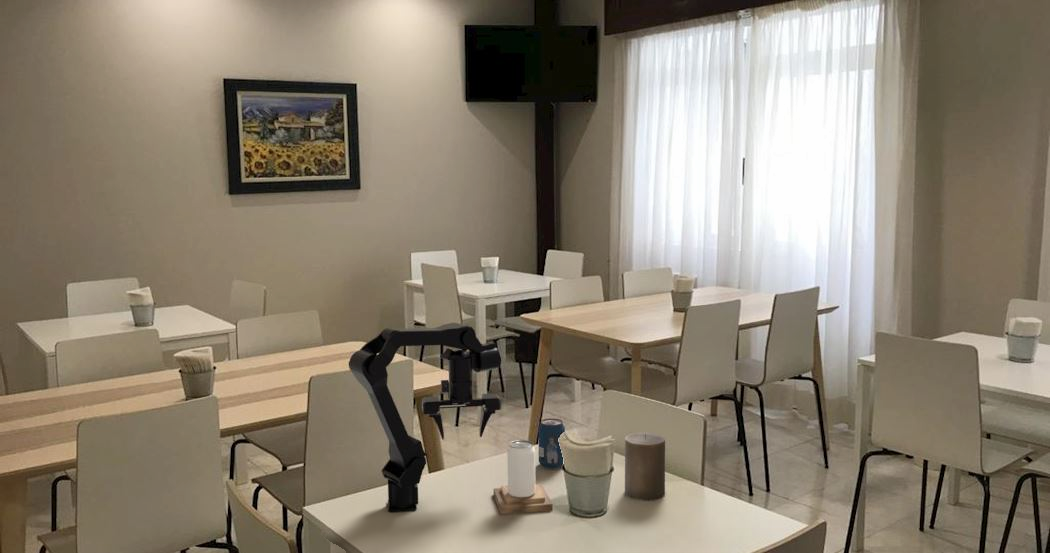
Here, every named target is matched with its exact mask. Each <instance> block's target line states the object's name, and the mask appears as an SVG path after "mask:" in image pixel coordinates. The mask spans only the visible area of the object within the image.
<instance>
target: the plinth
mask: <svg viewBox="0 0 1050 553" xmlns="http://www.w3.org/2000/svg"><path fill="white" fill-rule="evenodd" d="M493 497H494V500H495V502H496V504H497V507H499V508H498V510H499V513H500V515H509V514H521V513H524V514H525V513H533V512H534V513H537V512H545V511H546V512H547V511H548V512H549V511H554V510H553V507H554V506H553V502H552V500H551V499H550V497H549V495H548V493H547V491H546V489H545V488H544V486H543V484H538V483H535V493H534V494H533V495H532V496H530V497H527V498H516V497H512V496H511V495H510V494H509V493H508V485H503V486H500V487H497V488H493Z"/></svg>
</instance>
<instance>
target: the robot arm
mask: <svg viewBox="0 0 1050 553" xmlns="http://www.w3.org/2000/svg"><path fill="white" fill-rule="evenodd" d="M496 344H497V343H495V342H493V341H487V342H485V343H481V342H480V340H479V338H478V337H477V335H476V330H475V329H474V327H473V326H471V325H470V326H469V325H466V324H462V323H459V322H450V323H445V324H442V325H440V326H437V327H432V328H431V327H428V328H427V327H421V328H419V327H418V328H414V327H413V328H411V327H410V328H392V327H387V328H385V329H383V330H381V332H380V333H379V334H378V335H377V336H375V337H374V338H372V339H371V340H369V341H368V342H366V343H365V344H364V345H363V346H362V347H361V348H360V349H359V350H357V351H355V352H354V353H353V354H352V355H351V356H350V359H349V361H348V368H349V370H350V372H351V373H352V375H353V377H355V379H356V380H357V381H358V383H360V385H361V386H362V388H363V389H364V390H365V391H366V392H367V394H368V396H369V398H370V401H371V403H372V406H373V408H374V410H375V412H376V415H377V417H378V419H379V421H380V424H381V426H382V427H383V432H384V433H385V435H386V437H387V439H388V456H389V460H388V461H387V462H386V463H385V465H384V467H383V468H382V469H381V474H382V476H383V478H384V479H386V480H387V494H388V495H387V512H389V513H392V512H393V513H394V512H407V511H416V510H417V509H418V507H417V505H419V486H418V484H420V481H421V478H422V476H423V471H424V469H425V467H426V465H427V459H426V456H428V454H427V453H426V452H425V450H424V447H423V443H422V441H421V440H419V439H417V438H416V437H413V436H411V435H409V434H408V432H407V429H406V426H405V424H404V422H403V420H402V418H401V415H400V413H399V411H398V408H397V406H396V403H395V401H394V399H393V396H392V394H391V391H390V388H389V387H388V378H389V377H388V376H389V374H388V370H387V368H388V366H389V365H390V364H391V363H392V361H393V360H394V358H395V356H396V353H397V352H398V350H399V349H400V348H401V347H417V346H418V347H420V346H421V347H422V346H423V347H424V346H443V347H448V348H446V349H445V351H444V352H443V353H442V354H441V355H440V359H443V360H446V361H448V379H441V380H440V393H441V394H447V397H448V398H447V399H445V400H441V399H440V400H439V396H424V397H423V398H422V399H421V409H422V414H424V415H427V416H428V417H429V418H433V420H434V422H435V425H436V426H437V428H438V429H437V430H438V431H439V435H440V437H441V440H442V441H443V440H445V433H444V426H443V418H442V413H441V409H453V408H455V409H456V408H457V409H458V408H473V407H480V417H479V429H478V430H479V431H478V432H479V436H478V437H480V438H482V437H483V434H484V432H485V430H486V426H487V424H488V422H489V420H490V418H491V416H492V415H493V414H496V411H500V410H502V403H501V402H502V400H501V398H500V397H499V395H498V394H497V393H496V392H495V393H483V394H481V398H480V397H478V398H474V396H473V395H474V393H473V391H474V389H473V388H474V385H473V382H474V380H473V378H474V377H473V376H474V375H473V374H474V373H473V371H474V372H475V373H482V372H486V371H492V370H497V369H499V368H500V367H501V364H502V356H501V354H500V351H499V350H498V348H497V345H496ZM449 347H450V348H453V349H457V350H453V349H450V348H449ZM467 350H468V351H467Z"/></svg>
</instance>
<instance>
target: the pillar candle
mask: <svg viewBox="0 0 1050 553" xmlns="http://www.w3.org/2000/svg"><path fill="white" fill-rule="evenodd" d="M625 436H626V437H625V438H624V441H625V442H624V451H625V452H624V494H625V495H626V496H627V497H629V498H631V499H635V500H639V501H640V500H642V501H655V500H659V499H662V498H663V497H664V496H665V495H666V438H665V437H664V436H663V435H660V434H656V433H651V432H637V433H631V434H628V435H625Z"/></svg>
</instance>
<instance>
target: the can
mask: <svg viewBox="0 0 1050 553" xmlns="http://www.w3.org/2000/svg"><path fill="white" fill-rule="evenodd" d="M508 446H509V447H508V448H507V486H508V493H509V494H510V495H511V496H512V497H516V498H527V497H530V496H532V495H533V494H534V493H535V484H536V449H535V447H534V443H533V442H532V441H530V440H525V439H518V440H512V441H510V442H509V444H508Z"/></svg>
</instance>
